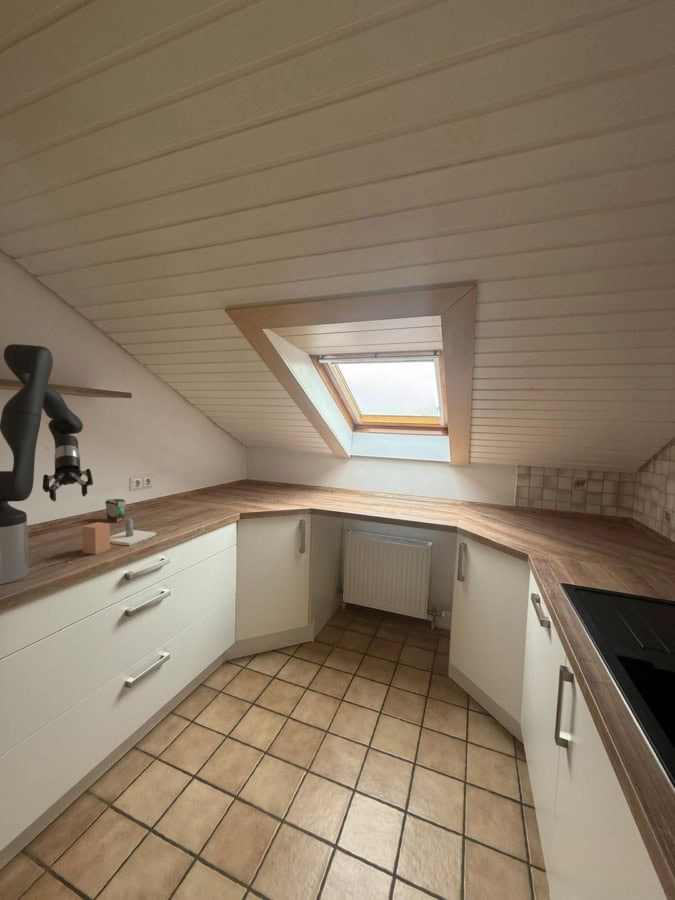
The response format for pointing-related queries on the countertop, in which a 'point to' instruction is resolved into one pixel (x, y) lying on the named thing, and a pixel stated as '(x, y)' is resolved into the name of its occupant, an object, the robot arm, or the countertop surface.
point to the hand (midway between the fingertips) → (69, 497)
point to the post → (130, 535)
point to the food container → (115, 509)
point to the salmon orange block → (96, 537)
